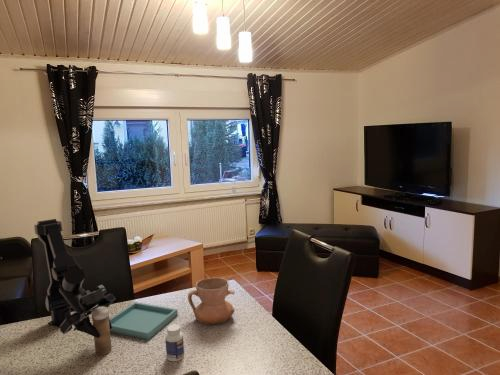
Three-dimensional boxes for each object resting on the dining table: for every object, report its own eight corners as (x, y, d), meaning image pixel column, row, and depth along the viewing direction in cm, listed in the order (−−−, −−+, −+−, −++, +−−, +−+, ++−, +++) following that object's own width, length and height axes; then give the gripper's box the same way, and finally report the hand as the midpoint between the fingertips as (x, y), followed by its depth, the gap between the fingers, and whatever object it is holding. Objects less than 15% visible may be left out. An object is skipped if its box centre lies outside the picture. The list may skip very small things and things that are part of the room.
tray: (102, 330, 128) (101, 323, 128) (135, 307, 145) (135, 302, 145) (148, 340, 121) (148, 333, 121) (177, 315, 138) (177, 309, 137)
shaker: (91, 354, 114) (87, 312, 112) (103, 345, 119) (99, 305, 117) (103, 357, 112) (100, 315, 110) (115, 348, 117) (111, 308, 115)
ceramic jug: (239, 310, 140) (237, 275, 138) (232, 329, 126) (230, 291, 124) (195, 309, 143) (193, 275, 141) (183, 328, 129) (180, 290, 127)
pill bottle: (180, 362, 108) (178, 332, 107) (163, 361, 109) (161, 331, 108) (186, 352, 113) (185, 323, 112) (171, 351, 115) (169, 322, 113)
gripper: (62, 292, 105) (95, 334, 103) (108, 270, 122) (137, 305, 120) (46, 314, 109) (77, 354, 107) (93, 289, 126) (120, 323, 124)
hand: (105, 332), depth 114 cm, fingers closed on shaker, 5 cm apart
